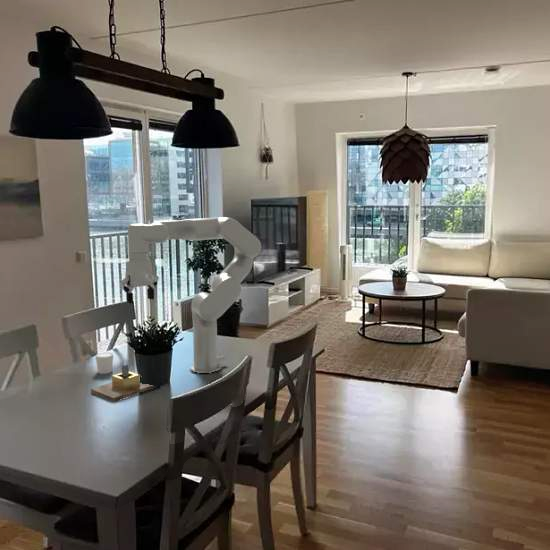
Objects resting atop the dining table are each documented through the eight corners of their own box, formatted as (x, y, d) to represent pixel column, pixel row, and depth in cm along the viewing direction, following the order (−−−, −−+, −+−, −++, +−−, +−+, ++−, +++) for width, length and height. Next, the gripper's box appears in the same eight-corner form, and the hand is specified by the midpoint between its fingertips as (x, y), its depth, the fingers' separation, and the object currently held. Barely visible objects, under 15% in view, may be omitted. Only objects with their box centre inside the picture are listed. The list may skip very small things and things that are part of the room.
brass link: (128, 381, 212) (127, 370, 212) (139, 385, 208) (139, 374, 207) (112, 386, 207) (111, 375, 206) (123, 390, 203) (123, 379, 202)
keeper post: (126, 384, 209) (125, 362, 208) (130, 385, 208) (129, 364, 206) (121, 385, 207) (120, 364, 206) (125, 387, 206) (124, 365, 205)
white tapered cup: (116, 369, 231) (115, 352, 230) (110, 374, 225) (109, 357, 224) (100, 368, 232) (99, 352, 231) (93, 374, 225) (92, 357, 224)
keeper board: (137, 378, 220) (136, 374, 220) (159, 386, 211) (159, 382, 211) (91, 392, 205) (91, 388, 204) (113, 402, 196) (113, 398, 196)
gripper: (151, 253, 224) (152, 296, 226) (113, 257, 211) (115, 303, 213) (163, 255, 219) (164, 298, 222) (125, 259, 206) (127, 305, 208)
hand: (140, 300), depth 217 cm, fingers open, 9 cm apart
